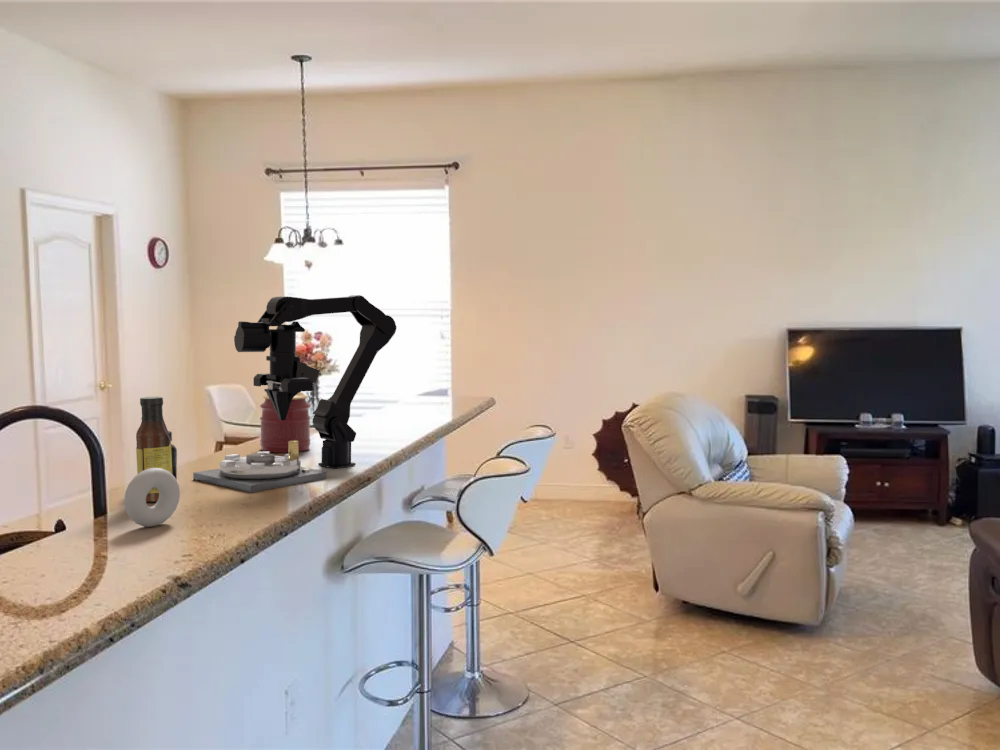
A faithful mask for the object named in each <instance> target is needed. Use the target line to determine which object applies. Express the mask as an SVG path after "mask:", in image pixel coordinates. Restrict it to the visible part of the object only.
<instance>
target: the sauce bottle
mask: <svg viewBox="0 0 1000 750" xmlns="http://www.w3.org/2000/svg"><path fill="white" fill-rule="evenodd" d="M139 404H140V407H141V423H140V425H139V427H138V428H137V431H136V435H135V436H136V438H135V439H136V449H135V451H136V468H137V469H136V470H137V474H136V475H138V474H139V473H140V472H142V471H143V470H146V469H149V468H162V469H164V470H167V471H169V472H170V473H171V474H172V453H171V444H172V441H171V438H170V436H169V433H168V431H169V430H168V429H167V428H168V427H167V425H166V422H165V420H164V416H163V405H164V398H163V396H144V397H140V399H139ZM172 475H173V474H172ZM158 499H159V490H158V489H157V488H156V487H154V488H152V489H151V490H150V491H149V492H148V494H147V496H146V503H156V502H157V501H158Z"/></svg>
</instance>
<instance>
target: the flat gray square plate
mask: <svg viewBox="0 0 1000 750" xmlns="http://www.w3.org/2000/svg"><path fill="white" fill-rule="evenodd" d="M192 474H193V475H192V479H195V480H194V481H198V480H200V481H199V482H202V481H204V483H206V482H207V483H208V484H211V485H215V484H216V485H215V486H219V485H220V487H224V488H228V487H229V489H232V488H233V490H236V491H237V490H238V491H242V492H246V493H250V494H252V493H256V492H263V491H266V490H267V491H268V490H273V489H278V488H283V487H289V486H294V485H300V484H305V483H309V482H315V481H319V480H326V479H327V475H328V474H327V471H325V470H319V469H313V468H310V467H309V468H308V467H304V466H301V471H300V472H299V473H297V474H294V475H290V476H285V477H278V478H267V479H240V478H231V477H226V476H223V475H221V474H220V468H215V469H207V470H203V471H202V470H201V471H195V472H193V473H192Z"/></svg>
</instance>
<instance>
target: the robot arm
mask: <svg viewBox="0 0 1000 750" xmlns="http://www.w3.org/2000/svg"><path fill="white" fill-rule="evenodd" d="M339 313H341V314H343V313H351V315H352V316H353V318H354V320H355V321H356V322H357V323H358V324H359V325H360V326H361V329H360V332H359V344H358V346H357V348H356V350H355V352H354V354H353V355H352V358H351V360H350V361H349V363H348V365H347V367H346V369H345V371H344V373H343V375H342V377H341V378H340V381H339V382H338V385H337V386H336V389H334V392H333V393H332V395H331V396H330V397H329V398H327V399H326V398H325V399H324V398H320V400H319V401H318V404H317V406H316V408H315V410H314V411H313V412H312V415H313V417H312V425H313V428H314V430H316V431H317V432H318V434H319V437H320V439H322V446H321V462H318V464H317V465H318V466H321V467H326V468H331V469H341V468H346V467H352V466H356V465H357V464H356V462H352V442H355V439H356V436H357V432H356V431H355V430H354V429H353V428H352V427H351V426H350V425H349V424H348V423H349V420H350V417H351V404H352V402H353V400H354V398H355V396H356V394H357V392H358V390H359V388H360V386H361V384H362V383H363V381H364V378H365V376H366V374H367V373H368V371H369V369H370V367H371V365H372V363H373V361H374V360H375V357H376V355H377V354H378V353H379V352H380V351H381V350H382V349H383V348H384V347H385V346H386V345H387V344H388V343H389V342H390V341H391V340H392V338H393V337H394V335H395V333H396V331H397V327H398V326H397V325H396V321H395V320H394V318H393V317H392V316H390V315H389V314H387V315H386V314H385V313H384V311H382V309H380V308H378V307H377V306H375V305H374V304H373V303H371V302H369V300H368V299H366V297H364V296H363V295H358V294H357V295H356V294H354V295H353V294H352V295H349V296H339V297H324V298H322V297H321V298H310V299H309V298H304V297H296V296H295V297H294V296H274V297H272V298H270V299H269V301H268V302H267V304H266V310H265V311H264V312H263V313H262V315H261V316H260V318H259V319H258V321H257V322H254V321H253V322H252V321H251V322H250V321H243V320H241V321H238V323H237V328H236V330H235V335H234V337H233V339H234V340H233V341H234V346H235V347H234V348H235V350H236V351H237V352H238V353H265V352H266V350H267V349H269V355H266V357H265V358H266V360H265V361H269V373H257V374H255V375H254V377H253V386H254V387H261V386H267V388H264V392H265V393H266V395H268V397H269V398H270V400H271V402H272V404H273V406H274V409H275V411H276V413H277V415H278V417H279V419H280V420H286V417H287V414H288V411H289V407H290V404H291V401H292V399H293V397H294V396H295V395H296V394H298V393H300V392H313V391H314V384H317V382H318V378H319V375H320V372H321V370H320V369H317V368H315V367H312V366H309V365H308V364H307V363H305V362H303V361H301V357H300V356H297V353H296V349H297V344H296V343H297V342H296V341H297V339H296V337H297V335H296V333H304V332H305V331H306V329H305V328H304V327H303V326H302V325H300V323H299V320H302V319H304V318H307V317H311V316H315V315H326V314H328V315H329V314H339ZM284 323H290V324H284ZM270 327H276V328H272V329H271V328H270Z"/></svg>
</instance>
